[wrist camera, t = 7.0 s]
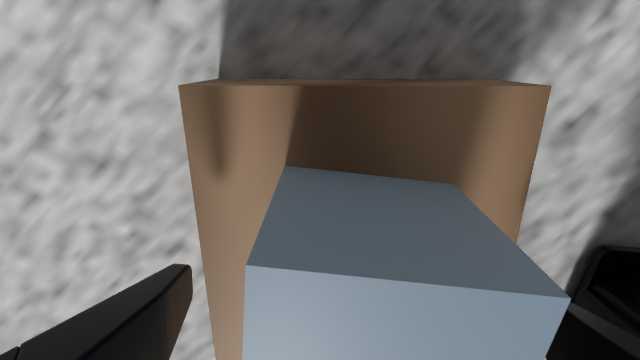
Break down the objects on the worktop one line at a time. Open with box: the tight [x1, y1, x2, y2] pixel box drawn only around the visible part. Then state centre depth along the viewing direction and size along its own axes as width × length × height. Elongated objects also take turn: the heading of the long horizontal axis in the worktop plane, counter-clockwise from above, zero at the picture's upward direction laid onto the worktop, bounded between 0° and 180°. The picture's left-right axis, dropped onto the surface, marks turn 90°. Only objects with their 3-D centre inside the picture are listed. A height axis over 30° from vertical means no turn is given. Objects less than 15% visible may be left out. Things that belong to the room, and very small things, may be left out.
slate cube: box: [242, 166, 571, 360], centre depth 8 cm, size 5×5×5 cm
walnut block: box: [178, 79, 551, 360], centre depth 12 cm, size 10×10×4 cm
